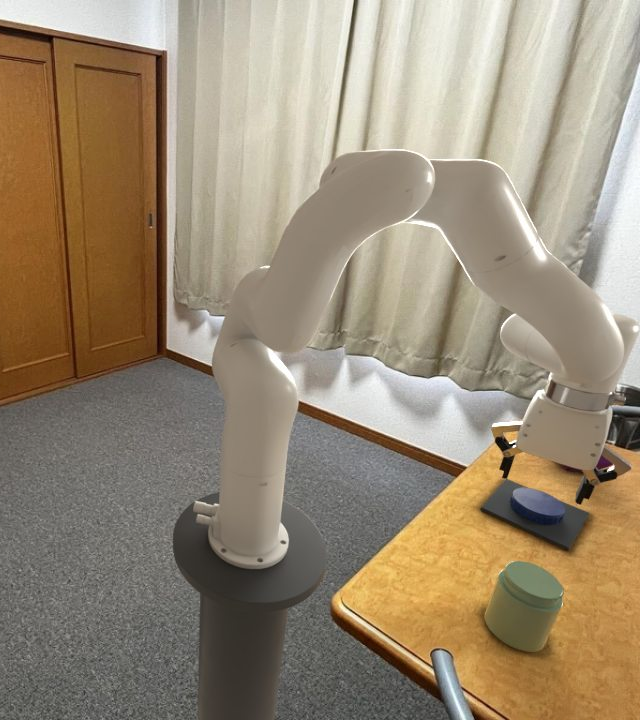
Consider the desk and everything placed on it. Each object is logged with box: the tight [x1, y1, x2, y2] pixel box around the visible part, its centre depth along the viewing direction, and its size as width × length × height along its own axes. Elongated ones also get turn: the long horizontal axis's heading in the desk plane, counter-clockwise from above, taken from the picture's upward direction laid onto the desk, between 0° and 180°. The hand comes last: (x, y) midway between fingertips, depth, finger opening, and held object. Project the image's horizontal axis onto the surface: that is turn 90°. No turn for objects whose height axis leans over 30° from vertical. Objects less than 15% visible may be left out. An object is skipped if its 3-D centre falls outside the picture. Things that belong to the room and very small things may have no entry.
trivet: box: [480, 478, 590, 551], centre depth 80 cm, size 12×12×1 cm
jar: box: [483, 560, 565, 653], centre depth 59 cm, size 6×6×9 cm
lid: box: [510, 487, 565, 525], centre depth 79 cm, size 7×7×2 cm
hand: (540, 486), depth 77 cm, fingers open, 9 cm apart
